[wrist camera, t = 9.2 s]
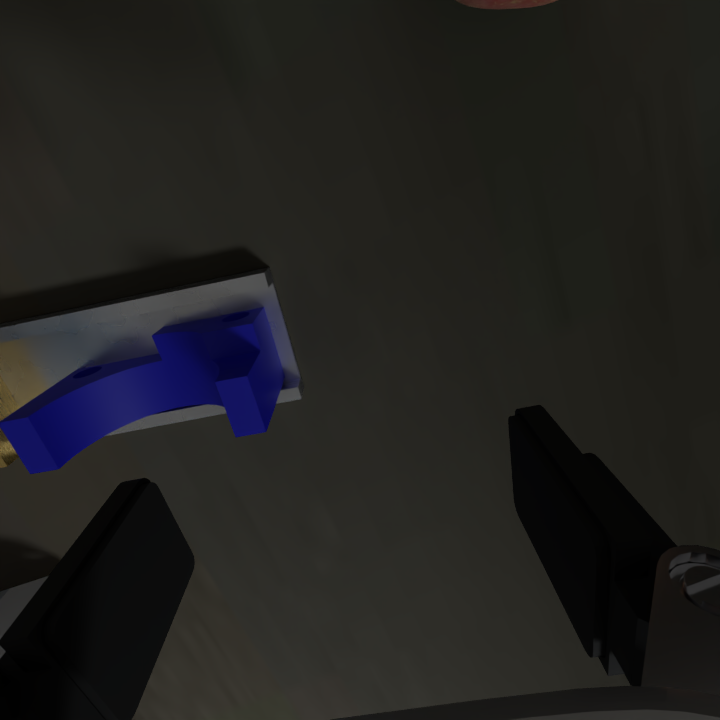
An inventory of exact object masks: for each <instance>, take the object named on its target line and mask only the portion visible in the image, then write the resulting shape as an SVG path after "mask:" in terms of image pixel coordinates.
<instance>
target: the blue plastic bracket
mask: <svg viewBox="0 0 720 720" xmlns="http://www.w3.org/2000/svg"><path fill="white" fill-rule="evenodd" d="M152 338H153V340H154V343H155V345H156V347H157V350H158V352H159V353H158V354H153V355H148V356H143V357H137V358H132V359H127V360H122V361H117V362H112V363H107V364H102V365H97V366H91V367H86V368H81V369H77V370H75V371H74V372H72V373H71V374H69V375H68V376H66V377H65V378H63V379H62V380H60V381H59V382H58V383H56V384H55V385H53V386H52V387H50V388H49V389H47V390H46V391H44V392H43V393H41V394H40V395H38V396H37V397H35V398H34V399H32V400H31V401H29V402H28V403H26V404H25V405H23V406H22V407H20V408H19V409H18V410H16V411H15V412H13V413H12V414H10V415H9V416H7V417H6V418H4V419H3V420H1V421H0V428H1V429H2V431H3V432H4V434H5V436H6V437H7V439H8V440H9V442H10V443H11V445H12V446H13V448H14V449H15V451H16V453H17V454H18V456H19V457H20V459H21V460H22V462H23V463H24V465H25V467H26V468H27V470H28V471H29V473H30V474H34V473H40V472H45V471H51V470H56V469H60V468H61V467H62V466H63V465H64V464H65V463H66V462H67V461H69V460H70V459H71V458H72V457H73V456H75V455H76V454H77V453H79V452H80V451H82V450H83V449H84V448H86V447H87V446H89V445H90V444H92V443H94V442H95V441H97V440H98V439H100V438H102V437H104V436H105V435H107V434H109V433H111V432H113V431H115V430H117V429H119V428H121V427H123V426H125V425H127V424H130V423H132V422H134V421H137V420H139V419H142V418H144V417H147V416H150V415H153V414H156V413H159V412H162V411H166V410H169V409H174V408H178V407H183V406H190V405H200V404H209V405H218V406H222V407H225V410H226V413H227V415H228V418H229V421H230V423H231V426H232V429H233V431H234V434H235V437H240V436H246V435H251V434H257V433H262V432H266V431H267V428H268V425H269V422H270V419H271V417H272V414H273V411H274V408H275V405H276V402H277V399H278V396H279V393H280V390H281V388H282V385H283V382H284V379H285V375H284V371H283V368H282V365H281V361H280V358H279V355H278V351H277V348H276V345H275V341H274V338H273V335H272V331H271V328H270V325H269V321H268V318H267V315H266V311H265V308H264V307H260V308H255V309H250V310H245V311H240V312H235V313H230V314H225V315H220V316H215V317H210V318H205V319H200V320H195V321H190V322H185V323H180V324H175V325H170V326H165V327H162V328H161V329H160V330H158V331H157V332H156V333H154V334H153V335H152Z"/></svg>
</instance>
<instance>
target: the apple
mask: <svg viewBox="0 0 720 720" xmlns="http://www.w3.org/2000/svg"><path fill="white" fill-rule="evenodd" d="M455 1H457V2H459V3H462V4H464V5H467V6H470V7H476V8H482V9H515V8H529V7H535V6H541V5H545V4H548V3H552V2H555V1H557V0H455Z"/></svg>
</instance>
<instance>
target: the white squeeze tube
mask: <svg viewBox="0 0 720 720" xmlns="http://www.w3.org/2000/svg"><path fill="white" fill-rule="evenodd" d="M260 307H264V308H265V311H266V315H267V318H268V321H269V325H270V328H271V331H272V335H273V338H274V341H275V345H276V348H277V351H278V355H279V358H280V361H281V365H282V368H283V371H284V375H285V379H284V382H283V385H282V388H281V390H280V393H279V396H278V399H277V402H276V404H277V403H282V402H288V401H293V400H298V399H302V395H303V390H304V385H303V381H302V378H301V374H300V371H299V368H298V364H297V361H296V357H295V354H294V350H293V347H292V343H291V340H290V336H289V333H288V329H287V326H286V322H285V319H284V316H283V312H282V309H281V305H280V302H279V298H278V295H277V291H276V288H275V284H274V281H273V277H272V274H271V270H270V267H268V268H263V269H259V270H254V271H249V272H244V273H239V274H235V275H230V276H225V277H220V278H216V279H211V280H206V281H201V282H197V283H192V284H187V285H182V286H178V287H173V288H168V289H163V290H159V291H154V292H149V293H144V294H139V295H135V296H130V297H125V298H120V299H116V300H111V301H106V302H101V303H97V304H92V305H87V306H82V307H78V308H73V309H68V310H63V311H59V312H54V313H49V314H44V315H40V316H35V317H30V318H25V319H20V320H16V321H11V322H6V323H1V324H0V421H1V420H3V419H4V418H6V417H7V416H9V415H10V414H12V413H13V412H15V411H16V410H18V409H19V408H20V407H22V406H23V405H25V404H26V403H28V402H29V401H31V400H32V399H34V398H35V397H37V396H38V395H40V394H41V393H43V392H44V391H46V390H47V389H49V388H50V387H52V386H53V385H55V384H56V383H58V382H59V381H60V380H62V379H63V378H65V377H66V376H68V375H69V374H71V373H72V372H74V371H75V370H77V369H81V368H86V367H91V366H97V365H102V364H107V363H112V362H117V361H122V360H127V359H132V358H137V357H143V356H148V355H153V354H158V353H159V352H158V350H157V347H156V345H155V343H154V340H153V338H152V335H153V334H154V333H156V332H157V331H158V330H160V329H161V328H162V327H165V326H170V325H175V324H180V323H185V322H190V321H195V320H200V319H205V318H210V317H215V316H220V315H225V314H230V313H235V312H240V311H245V310H250V309H255V308H260ZM224 413H226V410H225V407H222V406H218V405H209V404H200V405H190V406H183V407H178V408H174V409H169V410H166V411H162V412H159V413H156V414H153V415H150V416H147V417H144V418H142V419H139V420H137V421H134V422H132V423H130V424H127V425H125V426H123V427H121V428H119V429H117V430H115V431H113V432H111V433H109V434H107V435H105V436H108V435H113V434H118V433H124V432H129V431H134V430H139V429H145V428H150V427H155V426H161V425H166V424H171V423H176V422H182V421H187V420H192V419H198V418H203V417H208V416H214V415H219V414H224ZM18 457H19V456H18V454H17V453H16V451H15V449H14V448H13V446H12V445H11V443H10V442H9V440H8V439H7V437H6V436H5V434H4V432H3V431H2V429H1V428H0V468H1V467H7V466H8V465H10V464H11V463H12V462H13V461H14V460H16V459H17V458H18Z"/></svg>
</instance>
